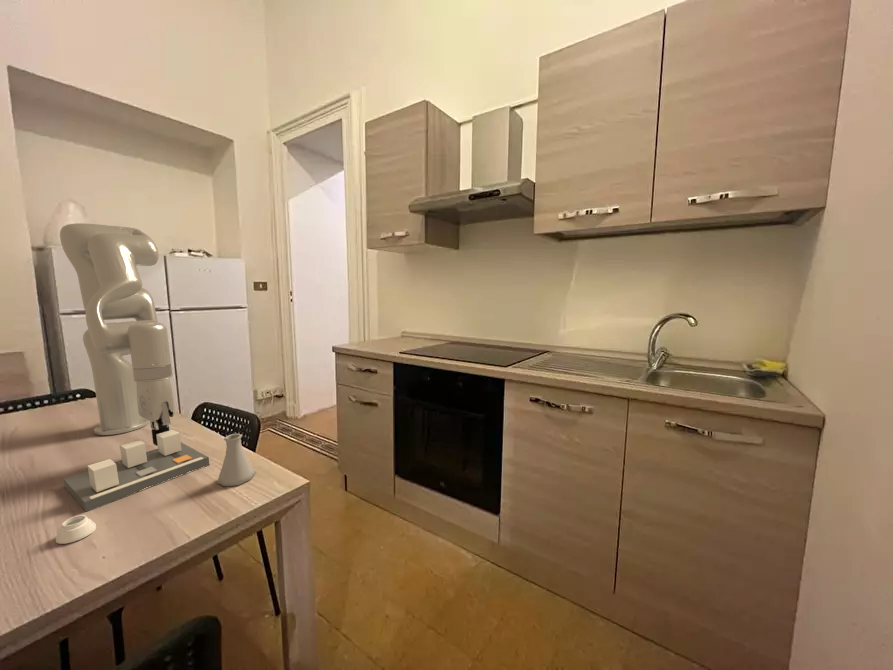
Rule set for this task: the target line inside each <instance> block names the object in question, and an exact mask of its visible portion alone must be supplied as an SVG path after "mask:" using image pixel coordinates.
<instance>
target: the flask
mask: <svg viewBox="0 0 893 670" xmlns="http://www.w3.org/2000/svg"><path fill="white" fill-rule="evenodd" d="M242 437H243V434H240V433H232V434H231V433H230V434H229V435H226V436H225V437H224V438H223V440H224V441H225V443H226V444H225V445H226V447H225V448H226V451H225V456H224V458H223V459H224V460H223V463H222V466H221V470H220V472H219V476H218V478H217V481H216V483H217V484H220V485H221V486H224V487H230V486H231V487H234V486H240V485H242V484H244V483H246V482H248V481H250V480H252V478H253V477H254V476H255V475H256V473H257V471H256V470H255V468H254V467H253V465H252V463H251V461H250V460H249V458H248V456H247V455H246V453H245V452H244V448H243V445H242V440H241V439H242Z"/></svg>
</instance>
